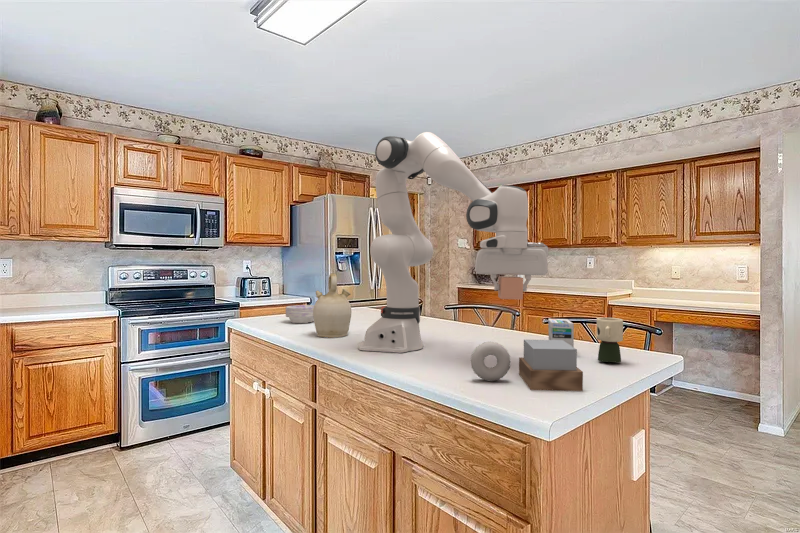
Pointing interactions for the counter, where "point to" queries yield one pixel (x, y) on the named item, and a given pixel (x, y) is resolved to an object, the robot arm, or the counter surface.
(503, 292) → the terracotta cube
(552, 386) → the walnut base block
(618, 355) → the character mug
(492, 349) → the donut
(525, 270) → the robot arm
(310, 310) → the paper bowls
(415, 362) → the counter surface
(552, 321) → the light bulb box
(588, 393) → the counter surface
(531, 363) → the grey top block
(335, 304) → the jug
